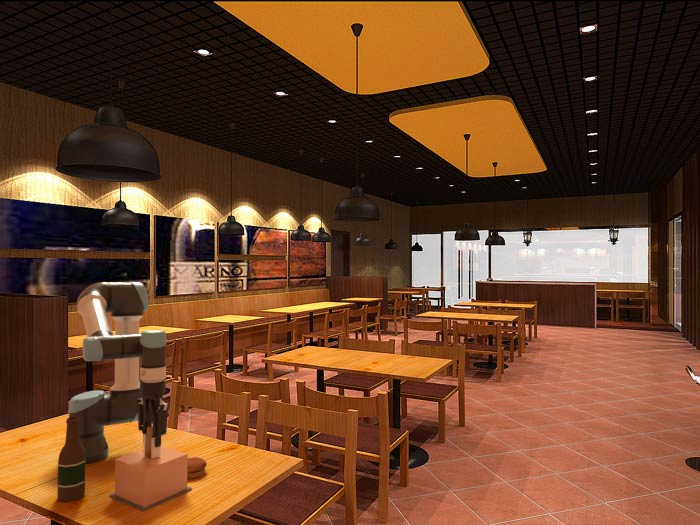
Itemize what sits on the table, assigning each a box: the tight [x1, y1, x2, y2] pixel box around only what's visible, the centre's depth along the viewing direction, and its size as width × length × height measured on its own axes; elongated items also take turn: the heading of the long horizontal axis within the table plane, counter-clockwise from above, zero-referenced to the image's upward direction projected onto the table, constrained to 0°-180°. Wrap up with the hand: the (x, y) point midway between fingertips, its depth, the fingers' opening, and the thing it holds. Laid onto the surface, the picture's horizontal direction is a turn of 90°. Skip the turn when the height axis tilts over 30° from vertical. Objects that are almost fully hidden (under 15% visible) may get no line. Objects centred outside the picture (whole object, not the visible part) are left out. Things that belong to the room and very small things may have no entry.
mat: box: [109, 485, 193, 512], centre depth 152 cm, size 17×17×1 cm
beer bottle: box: [56, 417, 86, 503], centre depth 150 cm, size 8×8×24 cm
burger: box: [187, 456, 208, 480], centre depth 168 cm, size 10×9×5 cm
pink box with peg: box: [114, 424, 189, 507], centre depth 152 cm, size 15×15×20 cm
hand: (151, 455), depth 152 cm, fingers closed on pink box with peg, 3 cm apart
